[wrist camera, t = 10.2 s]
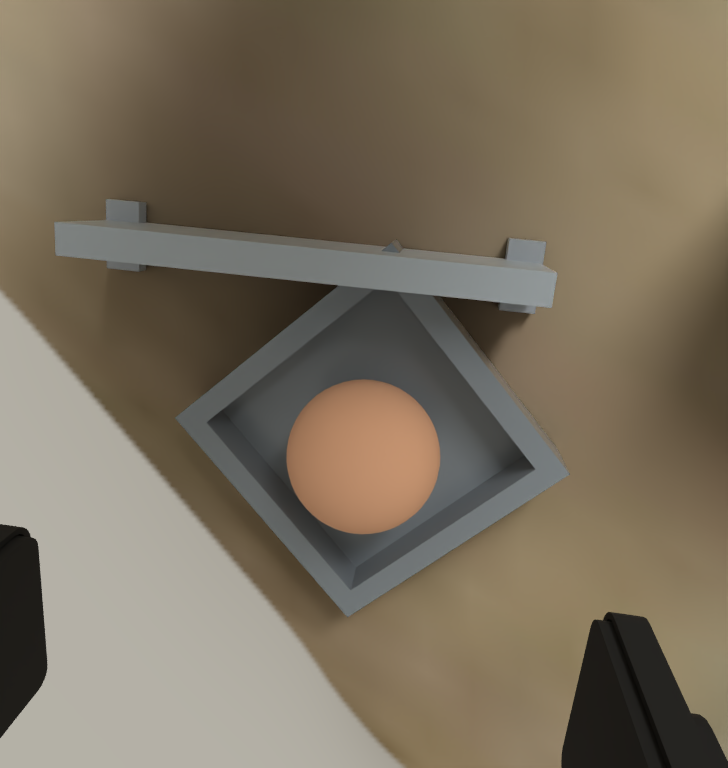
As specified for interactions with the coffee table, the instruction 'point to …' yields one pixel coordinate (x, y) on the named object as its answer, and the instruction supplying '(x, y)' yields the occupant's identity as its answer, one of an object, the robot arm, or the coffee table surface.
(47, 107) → the coffee table surface
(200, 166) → the coffee table surface
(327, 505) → the ball
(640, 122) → the coffee table surface
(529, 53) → the coffee table surface
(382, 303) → the dish
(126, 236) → the fence
